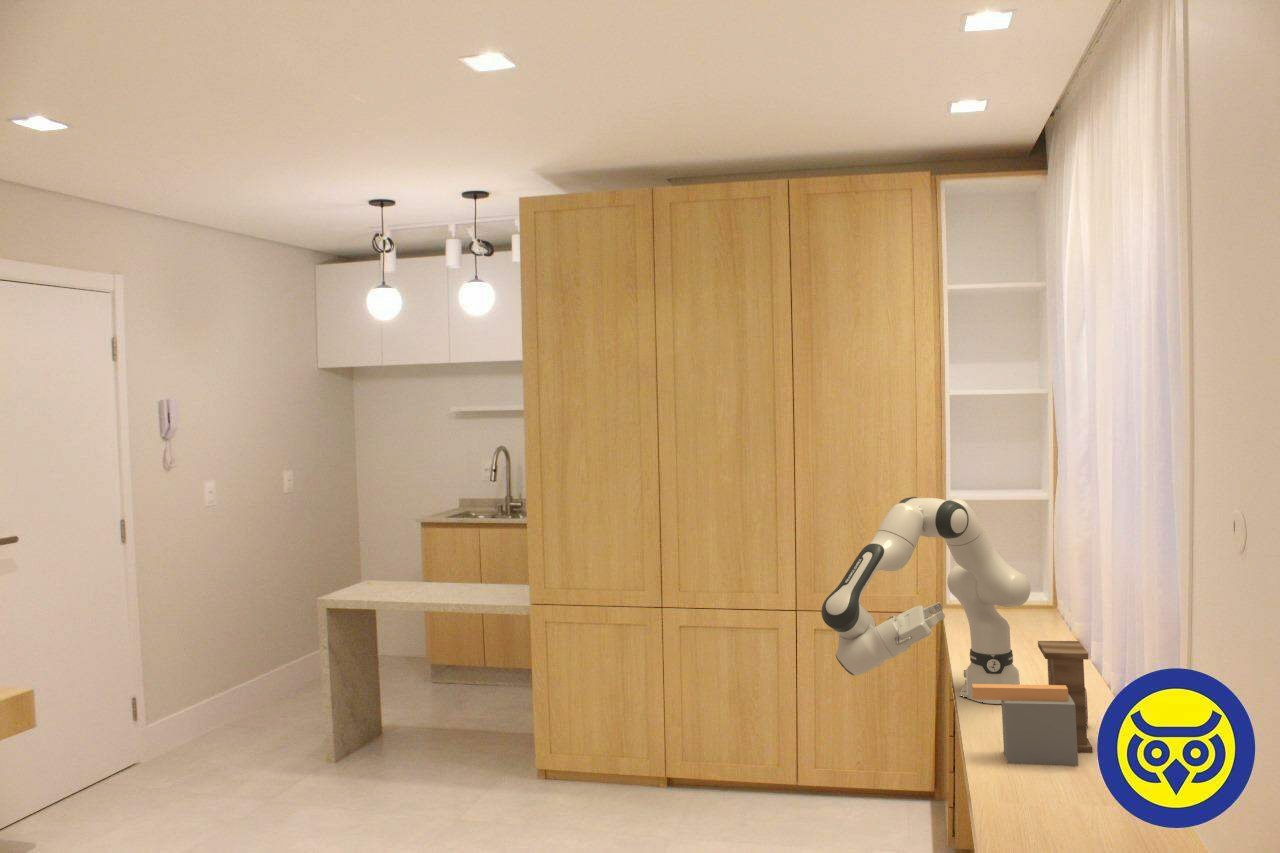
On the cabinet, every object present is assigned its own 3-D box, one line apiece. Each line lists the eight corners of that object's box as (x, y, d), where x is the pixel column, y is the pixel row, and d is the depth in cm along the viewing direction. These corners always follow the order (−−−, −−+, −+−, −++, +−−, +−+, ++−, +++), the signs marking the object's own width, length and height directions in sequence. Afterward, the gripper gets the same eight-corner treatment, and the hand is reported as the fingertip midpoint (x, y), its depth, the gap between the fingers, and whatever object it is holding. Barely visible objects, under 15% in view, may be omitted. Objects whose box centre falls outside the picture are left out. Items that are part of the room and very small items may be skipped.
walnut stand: (1042, 734, 256) (1037, 640, 255) (1083, 735, 253) (1078, 641, 252) (1049, 751, 244) (1045, 653, 243) (1092, 752, 241) (1088, 653, 241)
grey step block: (1003, 751, 246) (1001, 693, 245) (1071, 753, 242) (1069, 694, 241) (1007, 763, 238) (1004, 703, 237) (1078, 766, 234) (1075, 704, 234)
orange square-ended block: (972, 695, 244) (971, 683, 244) (1066, 697, 239) (1065, 685, 239) (973, 699, 242) (972, 687, 241) (1068, 701, 236) (1067, 689, 236)
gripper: (888, 635, 241) (937, 607, 238) (888, 616, 261) (933, 590, 258) (902, 657, 241) (952, 630, 237) (901, 636, 260) (946, 610, 257)
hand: (942, 609), depth 248 cm, fingers open, 8 cm apart
